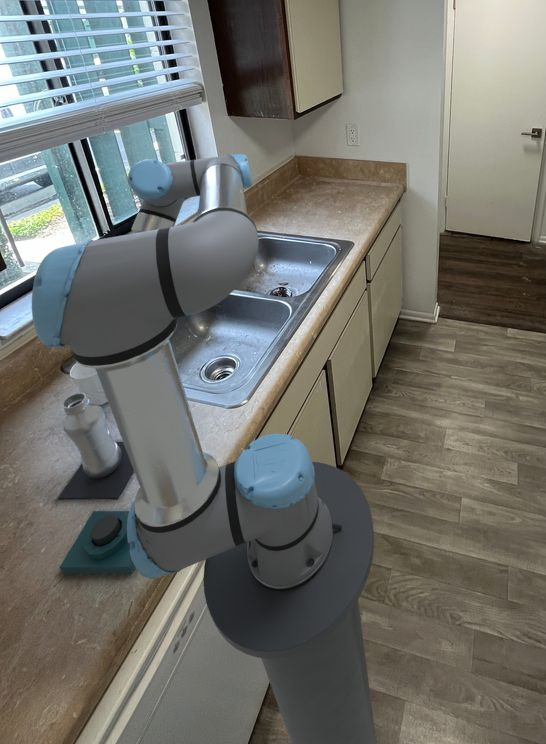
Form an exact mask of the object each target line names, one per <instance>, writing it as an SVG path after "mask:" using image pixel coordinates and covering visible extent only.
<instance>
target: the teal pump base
mask: <svg viewBox="0 0 546 744" xmlns="http://www.w3.org/2000/svg"><path fill="white" fill-rule="evenodd" d="M110 514H112V515H115V516H116V517H117V519H118V521H119V523H120V525H121V528H120V531H119V533H118V535H117V536H116V538H115V539H114V540H112V541H111V542H110V543H108V544H106V545H103V546H99V545H96V544H95V542H94V540H93V539H92V537H91V530H92V528H93V526H94V524H95V523H96V522H97V521H98V520H99V519H101V518H102V517H104V516H106V515H110ZM128 514H129V510H92V512H91V514H90V516H89V517H88V519H87V521H86V522H85V524H84V526H83V527H82V529H81V531H80V532H79V534H78V536H77V537H76V539H75V540H74V542H73V544H72V545H71V547H70V548H69V551H68V552H67V553H66V555H65V557H64V558H63V560H62V562H61V563H60V565H59V567H58V568H59V570H60V572H61V573H62V574H63V575H133V574H134V572H135V570H136V567H135V565H134V564H133V561H132V559H131V555H130V544H129V543H128V539H127V520H128Z"/></svg>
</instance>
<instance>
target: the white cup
mask: <svg viewBox="0 0 546 744" xmlns="http://www.w3.org/2000/svg"><path fill="white" fill-rule="evenodd" d="M69 376H70V378H71V380H72V381H73V383H74V385H75V387H76V388H77V390H78V393H84V394H85V395H86V397H87V398H88V399H89V403H94V404H97V405H99V406H103V405H104V404H107V403H108V401H107V398H106V396H105V393H104V390H103V388H102V385H101V382H100V380H99V377H98V374H97V372H96V369H95V368H89V367H84V366H81V365H80V364H78V363H77V362H76V363H74V365H73V366H72V367H71V368H70V371H69Z"/></svg>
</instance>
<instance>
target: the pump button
mask: <svg viewBox="0 0 546 744" xmlns="http://www.w3.org/2000/svg"><path fill="white" fill-rule="evenodd" d="M120 528H121V525H120V523H119V521H118V519H117V517H116V516H115V515H112V514H110V515H106V516H104V517H102V518H101V519H99V520H98V521H97V522H96V523H95V524H94V526H93V528H92V530H91V537H92V539H93V540H94V542H95V544H96V545H99V546H103V545H106V544H108V543H110V542H111V541H112V540H114V539H115V538H116V536H117V535H118V533H119V531H120Z"/></svg>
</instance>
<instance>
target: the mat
mask: <svg viewBox="0 0 546 744" xmlns="http://www.w3.org/2000/svg"><path fill="white" fill-rule="evenodd" d="M115 442H116V443H117V445H118V446H119V447H120V449H121V453H122V459H121V462H120V464H119V466H118V467H117V468H116V469H115V470H114V471H113V472H112V473H110V474H109V475H107V476H105V477H102V478H92V477H89V476H88V475H87V474H86V473H85V471H84V469H83V464H82V463H81V464H80V465H79V467H78V468H77V469H76V471H75V472H74V473H73V475H72V477H71V478H70V479H69V481H68V482H67V484H66V486H65V487H64V488H63V490H62V491H61V492H60V494H59V495H58V497H57V499H58V500H96V499H97V500H102V499H103V500H104V499H105V500H111V499H115V500H117V499H119V498H120V497H121V495H122V493H123V491H124V489H125V488H126V486H127V484H128V483H129V481H130V479H131V477H132V475H133V474H134V473H135V472H134V470H133V467H132V464H131V462H130V459H129V456H128V454H127V451H126V448H125V446H124V443H123V441H115Z"/></svg>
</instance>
